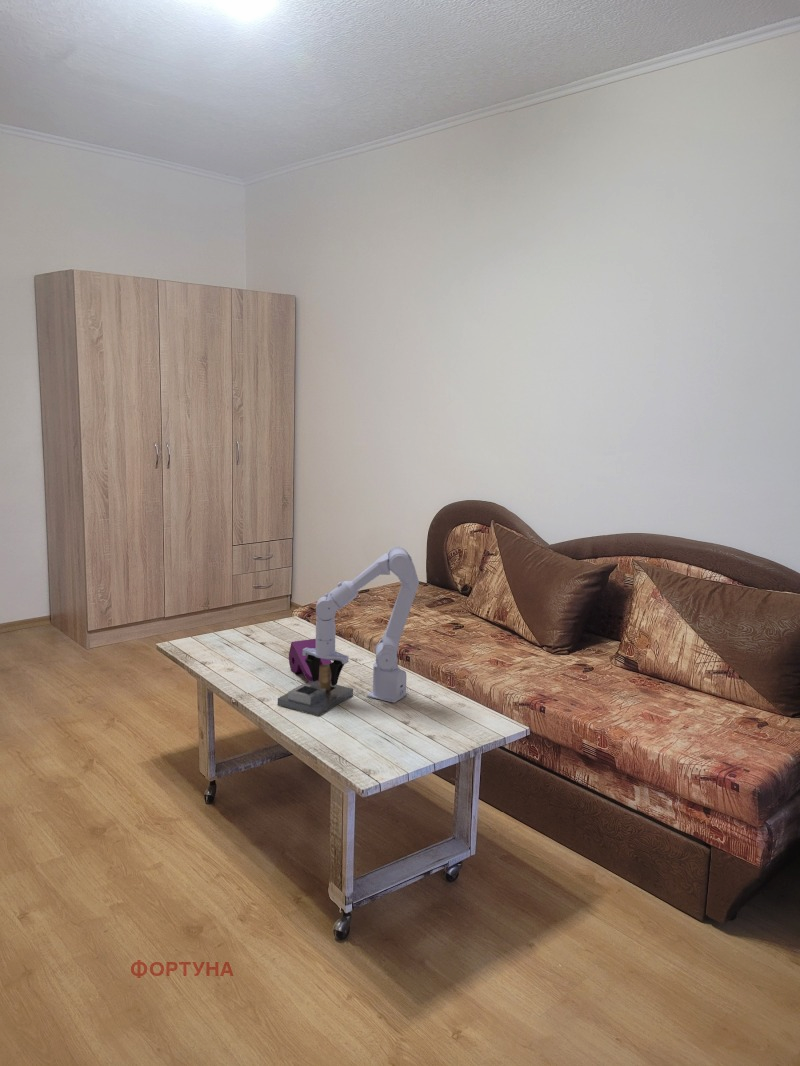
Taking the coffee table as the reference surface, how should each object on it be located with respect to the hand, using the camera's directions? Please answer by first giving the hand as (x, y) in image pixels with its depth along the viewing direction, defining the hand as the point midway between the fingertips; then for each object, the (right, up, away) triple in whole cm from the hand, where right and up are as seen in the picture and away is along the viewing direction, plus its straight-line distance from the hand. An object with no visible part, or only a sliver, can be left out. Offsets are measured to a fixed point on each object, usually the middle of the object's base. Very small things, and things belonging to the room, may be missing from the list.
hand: (324, 682), depth 236 cm
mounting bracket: (-5, -1, +16) cm, 17 cm away
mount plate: (-2, -5, -3) cm, 6 cm away
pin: (0, -4, +1) cm, 4 cm away
